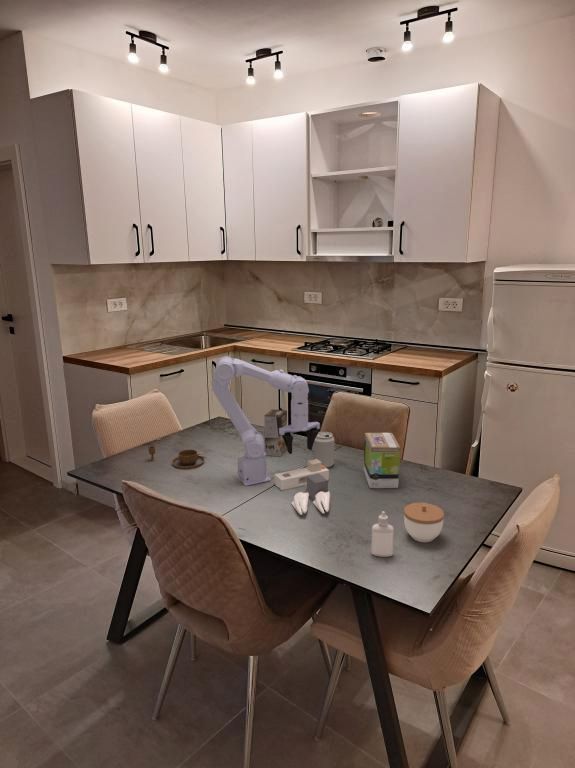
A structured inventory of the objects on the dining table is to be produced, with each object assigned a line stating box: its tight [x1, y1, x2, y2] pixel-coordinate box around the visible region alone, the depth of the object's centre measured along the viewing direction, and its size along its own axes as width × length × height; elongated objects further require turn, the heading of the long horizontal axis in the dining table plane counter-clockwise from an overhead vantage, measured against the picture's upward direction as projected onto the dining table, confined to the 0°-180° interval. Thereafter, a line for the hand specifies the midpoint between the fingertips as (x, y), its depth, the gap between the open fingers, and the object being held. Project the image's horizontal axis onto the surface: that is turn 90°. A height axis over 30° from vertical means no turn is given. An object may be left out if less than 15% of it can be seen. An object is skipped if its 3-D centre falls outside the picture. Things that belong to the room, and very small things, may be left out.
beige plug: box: [306, 458, 321, 472], centre depth 190 cm, size 4×4×3 cm
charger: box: [304, 474, 329, 502], centre depth 178 cm, size 4×9×6 cm, turn 26°
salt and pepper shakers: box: [291, 490, 331, 516], centre depth 169 cm, size 12×4×11 cm
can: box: [313, 431, 335, 469], centre depth 202 cm, size 8×8×12 cm
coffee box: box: [263, 408, 288, 457], centre depth 215 cm, size 9×6×16 cm
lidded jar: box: [403, 502, 445, 543], centre depth 152 cm, size 11×11×9 cm
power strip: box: [274, 465, 330, 491], centre depth 189 cm, size 18×6×4 cm, turn 116°
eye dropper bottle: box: [370, 511, 395, 558], centre depth 144 cm, size 4×6×12 cm
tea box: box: [363, 432, 401, 489], centre depth 189 cm, size 15×10×15 cm
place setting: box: [148, 445, 207, 470], centre depth 209 cm, size 18×20×6 cm
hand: (299, 451), depth 190 cm, fingers open, 7 cm apart
